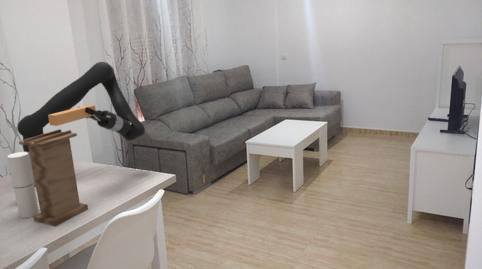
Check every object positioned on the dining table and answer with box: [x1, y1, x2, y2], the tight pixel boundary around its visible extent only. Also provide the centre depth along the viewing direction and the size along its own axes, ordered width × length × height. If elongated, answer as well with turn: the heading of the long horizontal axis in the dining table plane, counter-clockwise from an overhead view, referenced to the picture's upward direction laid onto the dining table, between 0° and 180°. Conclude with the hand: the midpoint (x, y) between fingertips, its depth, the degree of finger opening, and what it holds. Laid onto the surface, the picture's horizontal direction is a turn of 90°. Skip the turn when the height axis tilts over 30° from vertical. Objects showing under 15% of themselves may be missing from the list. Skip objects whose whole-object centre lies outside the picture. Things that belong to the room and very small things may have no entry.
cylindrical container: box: [7, 151, 40, 219], centre depth 162 cm, size 7×7×25 cm
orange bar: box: [48, 104, 97, 127], centre depth 164 cm, size 4×20×4 cm, turn 154°
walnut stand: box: [18, 128, 89, 227], centre depth 158 cm, size 12×16×33 cm
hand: (81, 109), depth 168 cm, fingers closed on orange bar, 4 cm apart
